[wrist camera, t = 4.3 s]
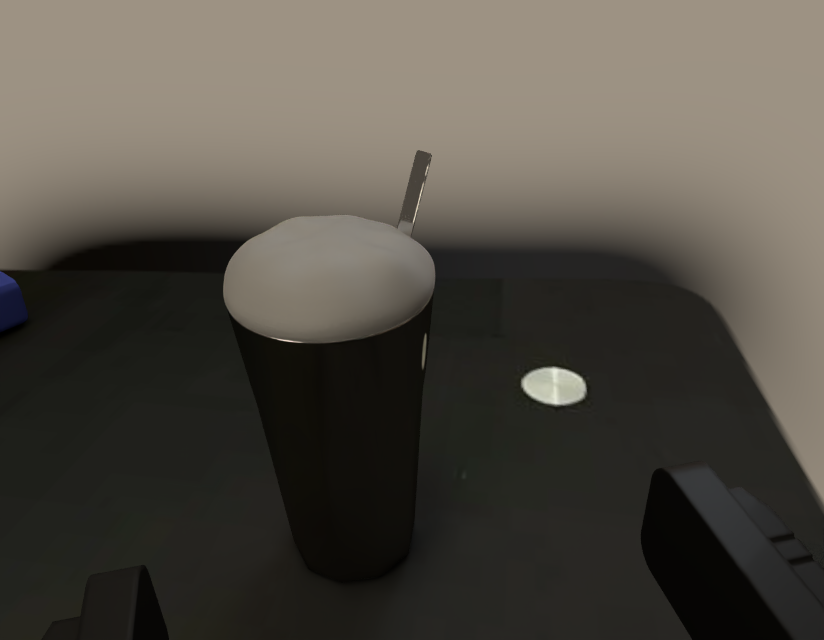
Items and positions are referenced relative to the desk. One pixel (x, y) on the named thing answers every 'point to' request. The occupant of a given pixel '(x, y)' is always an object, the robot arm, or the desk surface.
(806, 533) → the desk surface
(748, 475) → the desk surface
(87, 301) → the desk surface
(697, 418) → the desk surface
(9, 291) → the eraser
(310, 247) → the milkshake
